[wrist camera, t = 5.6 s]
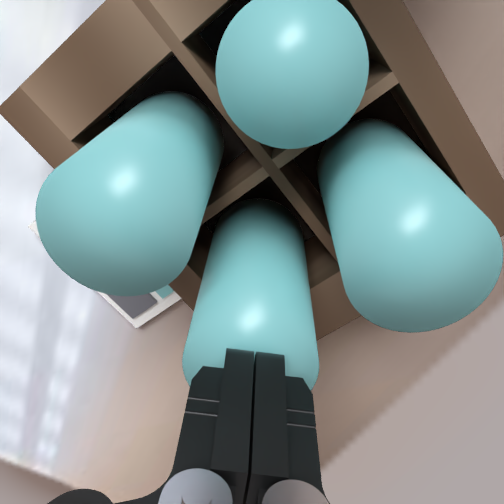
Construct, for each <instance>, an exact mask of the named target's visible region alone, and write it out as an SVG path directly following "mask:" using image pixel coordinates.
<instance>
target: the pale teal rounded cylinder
mask: <svg viewBox="0 0 504 504" xmlns="http://www.w3.org/2000/svg"><path fill="white" fill-rule="evenodd" d="M223 152H224V136H223V131H222V128H221V125H220V123H219V121H218V119H217V117H216V116H215V114H214V113H213V111H212V110H211V109H210V108H209V107H208V106H207V105H206V104H205V103H204V102H202V101H201V100H199V99H198V98H196V97H194V96H192V95H190V94H187V93H184V92H179V91H163V92H158V93H155V94H153V95H151V96H149V97H147V98H145V99H144V100H143V101H141V102H140V103H139V104H137V105H136V106H135V107H134V108H132V109H131V110H130V111H128V112H127V113H126V114H125V115H123V116H122V117H121V118H120V119H118V120H117V121H116V122H114V123H113V124H112V125H111V126H109V127H108V128H107V129H105V130H104V131H103V132H102V133H100V134H99V135H98V136H96V137H95V138H94V139H93V140H91V141H90V142H89V143H88V144H86V145H85V146H84V147H82V148H81V149H80V150H79V151H77V152H76V153H75V154H73V155H72V156H71V157H70V158H68V159H67V160H66V161H64V162H63V163H62V164H61V165H59V166H58V167H57V168H56V169H55V170H54V171H53V172H52V173H51V174H50V175H49V176H48V177H47V179H46V180H45V182H44V183H43V185H42V187H41V189H40V191H39V195H38V198H37V202H36V224H37V229H38V233H39V236H40V239H41V241H42V243H43V245H44V247H45V249H46V251H47V252H48V254H49V256H50V257H51V258H52V259H53V261H54V262H55V263H56V264H57V265H58V266H59V267H60V268H61V269H62V271H64V272H65V273H66V274H67V275H68V276H70V277H71V278H72V279H74V280H75V281H77V282H78V283H80V284H82V285H84V286H86V287H88V288H90V289H93V290H95V291H98V292H101V293H105V294H109V295H115V296H138V295H144V294H148V293H151V292H154V291H157V290H159V289H161V288H163V287H165V286H166V285H168V284H169V283H171V282H172V281H173V280H174V279H176V278H177V277H178V275H179V274H180V273H181V272H182V271H183V269H184V268H185V266H186V265H187V263H188V261H189V259H190V256H191V253H192V250H193V247H194V244H195V241H196V238H197V234H198V231H199V228H200V225H201V222H202V219H203V216H204V213H205V209H206V206H207V203H208V200H209V197H210V194H211V191H212V188H213V185H214V181H215V178H216V175H217V172H218V169H219V166H220V163H221V160H222V156H223Z"/></svg>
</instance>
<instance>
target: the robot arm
mask: <svg viewBox="0 0 504 504" xmlns="http://www.w3.org/2000/svg"><path fill="white" fill-rule="evenodd" d="M315 427H316V423H315V415H314V404H313V394H312V392H311V391H310V389H309V387H308V386H307V384H306V382H305V381H304V379H303V378H300V377H291V376H285V356H284V355H281V354H273V353H265V352H257V351H256V354H255V360H254V351H248V350H240V349H231V348H226V355H225V362H224V368H217V367H209V366H203V367H202V368H201V369H200V370H199V371H198V373H197V374H196V375H195V376H194V377H193V378H192V381H191V385H190V390H189V395H188V400H187V404H186V409H185V414H184V418H183V423H182V428H181V432H180V437H179V442H178V446H177V451H176V456H175V461H174V465H173V469H172V472H171V474H170V476H169V477H168V479H167V480H166V482H165V483H164V484H163V485H162V486H161V487H160V488H158V489H157V490H156V491H154V492H153V493H151V494H149V495H147V496H145V497H142V498H138V499H135V500H130V501H125V502H120V503H115V504H330V503H329V502H328V500H327V498H326V496H325V494H324V491H323V488H322V482H321V472H320V462H319V453H318V443H317V433H316V429H315ZM48 504H113V503H112V502H111V500H110V499H109V498H108V497H107V496H106V495H104V494H103V493H101V492H98V491H96V490H91V489H77V490H73V491H69V492H66V493H64V494H62V495H60V496H58V497H57V498H55V499H54V500H52V501H51V502H49V503H48Z"/></svg>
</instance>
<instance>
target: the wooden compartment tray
mask: <svg viewBox="0 0 504 504" xmlns="http://www.w3.org/2000/svg"><path fill="white" fill-rule="evenodd" d="M235 1H236V0H106V1H105V2H104V3H103V4H102V5H101V6H100V7H99V8H98V9H97V10H96V11H95V12H94V13H93V14H92V15H91V16H90V17H89V18H88V19H87V20H86V21H85V22H84V23H83V24H82V25H81V26H80V27H79V28H78V29H77V30H76V31H75V32H74V33H73V34H72V35H71V36H70V37H69V38H68V39H67V40H66V41H65V42H64V43H63V44H62V45H61V46H60V47H59V48H58V49H57V50H56V51H55V52H54V53H53V54H52V55H51V56H50V57H49V58H48V59H47V60H46V61H45V62H44V63H43V64H42V65H41V66H40V67H39V68H38V69H37V70H36V71H35V72H34V73H33V74H32V75H31V76H30V77H29V78H28V79H27V80H26V81H25V82H24V83H23V84H22V85H21V86H20V87H19V88H18V89H17V90H16V91H15V92H14V93H13V94H12V95H11V96H10V97H9V98H8V99H7V100H6V101H5V102H4V103H3V104H2V105H1V106H0V114H1V115H2V116H3V117H4V118H5V119H6V120H7V121H8V122H9V123H10V124H11V125H12V126H13V127H14V128H15V129H16V130H17V132H18V133H19V134H20V135H21V136H22V137H23V138H24V139H25V140H26V141H27V142H28V143H29V144H30V145H31V146H32V147H33V148H34V149H35V150H36V151H37V152H38V153H39V154H40V155H41V156H42V157H43V158H44V159H45V160H46V161H47V162H48V163H49V164H50V165H51V166H52V167H53V168H54V169H56V168H57V167H58V166H59V165H61V164H62V163H63V162H64V161H66V160H67V159H68V158H70V157H71V156H72V155H73V154H75V153H76V152H77V151H79V150H80V149H81V148H82V147H84V146H85V145H86V144H88V143H89V142H90V141H91V140H93V139H94V138H95V137H96V136H98V135H99V134H100V133H102V132H103V131H104V130H105V129H107V128H108V127H109V126H111V125H112V124H113V123H114V122H113V121H112V120H111V119H110V118H109V117H108V116H107V115H108V114H109V113H110V112H111V111H113V110H114V109H115V108H116V107H117V106H118V105H119V104H120V103H122V102H123V101H124V100H125V99H126V98H127V97H128V96H129V95H131V94H132V93H133V92H134V91H135V90H136V89H137V88H138V87H140V86H141V85H142V84H143V83H144V82H145V81H146V80H147V79H149V78H150V77H151V76H152V75H153V74H154V73H155V72H156V71H158V70H159V69H160V68H161V67H162V66H163V65H164V64H165V63H167V62H168V61H169V60H170V59H171V58H172V57H173V56H174V55H175V56H176V57H177V58H178V60H179V61H180V62H181V63H182V65H183V66H184V67H185V68H186V70H187V71H188V72H189V74H190V75H191V76H192V77H193V79H194V80H195V81H196V83H197V84H198V85H199V86H200V88H201V89H202V90H203V91H204V93H205V94H206V95H207V97H208V98H209V99H210V100H211V102H212V103H213V104H214V106H215V107H216V108H217V109H218V111H219V112H220V113H221V114H222V116H223V117H224V118H225V120H226V121H227V122H228V123H229V125H230V126H231V127H232V128H233V130H234V131H235V132H236V134H237V135H238V136H239V137H240V139H241V140H242V141H243V143H244V144H245V145H246V146H247V148H248V149H247V150H246V151H245V152H243V153H242V154H241V155H239V156H238V157H237V158H236V159H234V160H233V161H232V162H230V163H229V164H228V165H226V166H225V167H224V168H222V169H221V170H220V171H218V172H217V175H216V178H215V181H214V185H213V188H212V191H211V194H210V197H209V200H208V203H207V206H206V209H205V213H204V216H203V219H202V222H201V225H200V228H199V231H198V234H197V238H196V241H195V244H194V247H193V250H192V253H191V256H190V259H189V261H188V263H187V265H186V266H185V268H184V269H183V271H182V272H181V273H180V274H179V275H178V277H177V278H176V279H174V280H173V281H172V282H171V283H169V284H168V285H169V286H170V287H171V288H172V289H173V290H174V291H175V292H176V293H177V294H178V295H179V296H180V297H181V298H182V299H183V300H184V301H185V303H186V304H187V305H188V306H189V307H190V308H191V309H192V310H193V311H194V309H195V305H196V301H197V297H198V293H199V289H200V285H201V281H202V277H203V273H204V269H205V266H206V262H207V258H208V254H209V250H210V246H211V242H212V238H213V234H212V233H211V232H210V231H209V229H208V228H207V227H206V226H205V225H204V224H203V223H205V222H206V221H207V220H209V219H210V218H212V217H213V216H214V215H216V214H217V213H219V212H220V211H221V210H223V209H224V208H225V207H227V206H228V205H230V204H231V203H232V202H234V201H235V200H237V199H238V198H239V197H241V196H242V195H244V194H245V193H246V192H248V191H249V190H250V189H252V188H253V187H255V186H256V185H257V184H259V183H260V182H262V181H263V180H264V179H266V178H267V177H269V176H270V177H271V178H272V180H273V181H274V182H275V183H276V185H277V186H278V187H279V188H280V190H281V191H282V192H283V194H284V195H285V196H286V197H287V199H288V200H289V201H290V202H291V204H292V205H293V206H294V208H295V209H296V210H297V211H298V213H299V214H300V215H301V217H302V218H303V219H304V220H305V222H306V223H307V224H308V225H309V227H310V228H311V229H312V231H313V232H314V233H315V234H316V235H315V236H314V237H312V238H310V239H309V240H307V241H306V242H304V247H305V255H306V263H307V271H308V279H309V287H310V295H311V303H312V311H313V319H314V326H315V334H316V341H317V340H319V339H320V338H322V337H324V336H326V335H327V334H329V333H331V332H333V331H334V330H336V329H338V328H340V327H342V326H343V325H345V324H347V323H349V322H350V321H352V320H354V319H356V318H358V317H359V316H361V314H360V313H359V312H358V311H357V310H356V309H355V308H354V306H353V305H352V304H351V302H350V300H349V298H348V296H347V294H346V291H345V288H344V284H343V280H342V276H341V272H340V268H339V264H338V260H337V256H336V252H335V248H334V244H333V240H332V236H331V231H330V227H329V223H328V219H327V215H326V211H325V207H324V203H323V199H322V197H321V195H320V194H319V193H318V191H317V190H316V189H315V187H314V186H313V185H312V183H311V182H310V181H309V179H308V178H307V177H306V175H305V174H304V173H303V171H302V170H301V169H300V167H299V166H298V165H297V163H296V162H295V161H294V158H295V157H296V156H298V155H299V154H300V153H302V152H303V151H305V150H306V149H307V148H309V147H310V146H308V147H304V148H298V149H282V148H276V147H271V146H268V145H265V144H262V143H260V142H258V141H256V140H254V139H252V138H251V137H249V136H248V135H246V134H245V133H244V132H243V131H242V130H241V129H239V128H238V127H237V125H236V124H235V123H234V122H233V121H232V119H231V118H230V117H229V115H228V114H227V112H226V110H225V108H224V106H223V104H222V102H221V99H220V96H219V93H218V88H217V83H216V59H217V56H216V55H215V54H214V52H213V51H212V50H211V48H210V47H209V46H208V44H207V43H206V42H205V40H204V39H203V38H202V36H201V35H200V34H199V33H200V32H201V31H203V30H204V29H205V28H206V27H207V26H208V25H209V24H210V23H212V22H213V21H214V20H215V19H216V18H217V17H218V16H219V15H221V14H222V13H223V12H224V11H225V10H226V9H227V8H228V7H230V6H231V5H232V4H233V3H234V2H235ZM337 1H338V2H339V3H341V4H342V5H343V6H344V7H345V8H346V9H347V10H348V11H349V12H350V13H351V14H352V16H353V17H354V19H355V20H356V21H357V23H358V25H359V27H360V29H361V31H362V33H363V36H364V39H365V42H366V46H367V50H368V56H369V58H368V59H369V72H368V80H367V85H366V88H365V92H364V95H363V97H362V100H361V102H360V104H359V106H358V108H357V109H356V111H355V113H354V114H353V115H355V114H356V113H357V112H359V111H360V110H362V109H363V108H364V107H366V106H367V105H368V104H370V103H371V102H373V101H374V100H375V99H377V98H378V97H380V96H381V95H382V94H384V93H385V92H387V91H388V90H390V92H391V93H392V95H393V97H394V98H395V100H396V101H397V103H398V105H399V106H400V108H401V110H402V111H403V113H404V114H405V116H406V118H407V119H408V121H409V122H410V124H411V126H412V127H413V129H414V131H415V132H416V134H417V135H418V137H419V139H420V140H421V142H422V143H423V145H424V147H425V148H426V150H427V152H428V153H429V155H430V156H431V158H432V161H433V162H434V163H435V164H436V165H437V166H438V167H439V168H440V169H441V170H442V171H443V172H444V173H445V174H446V175H447V176H448V177H449V178H450V179H451V180H452V181H453V182H454V183H455V184H456V185H457V186H458V187H459V188H460V190H461V191H462V192H463V193H464V194H465V195H466V196H467V197H468V198H469V199H470V200H471V201H472V202H473V203H474V204H475V205H476V206H477V207H478V208H479V209H480V210H481V211H482V212H483V213H484V214H485V215H486V216H487V217H488V218H489V219H490V220H491V222H492V223H493V224H494V226H495V227H496V229H497V231H498V233H499V235H500V237H501V236H503V235H504V180H503V178H502V177H501V175H500V173H499V171H498V169H497V168H496V166H495V164H494V162H493V161H492V159H491V157H490V155H489V153H488V152H487V150H486V148H485V146H484V145H483V143H482V141H481V139H480V137H479V136H478V134H477V132H476V130H475V129H474V127H473V125H472V123H471V122H470V120H469V118H468V116H467V114H466V113H465V111H464V109H463V107H462V106H461V104H460V102H459V100H458V98H457V97H456V95H455V93H454V91H453V90H452V88H451V86H450V84H449V82H448V81H447V79H446V77H445V75H444V74H443V72H442V70H441V68H440V66H439V65H438V63H437V61H436V59H435V58H434V56H433V54H432V52H431V50H430V49H429V47H428V45H427V43H426V42H425V40H424V38H423V36H422V34H421V33H420V31H419V29H418V27H417V26H416V24H415V22H414V20H413V18H412V17H411V15H410V13H409V11H408V10H407V8H406V6H405V4H404V2H403V1H402V0H337ZM311 146H312V145H311Z"/></svg>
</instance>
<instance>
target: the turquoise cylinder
mask: <svg viewBox="0 0 504 504" xmlns="http://www.w3.org/2000/svg"><path fill="white" fill-rule="evenodd" d="M317 178H318V183H319V187H320V191H321V195H322V199H323V203H324V207H325V211H326V215H327V219H328V223H329V227H330V231H331V236H332V240H333V244H334V248H335V252H336V256H337V260H338V264H339V268H340V272H341V276H342V280H343V284H344V288H345V291H346V294H347V296H348V298H349V300H350V302H351V304H352V305H353V306H354V308H355V309H356V310H357V311H358V312H359V313H360V314H361V315H362V316H363V317H365V318H366V319H367V320H369V321H370V322H372V323H374V324H376V325H378V326H380V327H383V328H386V329H389V330H393V331H399V332H424V331H431V330H435V329H439V328H442V327H445V326H448V325H450V324H452V323H454V322H457V321H459V320H460V319H462V318H464V317H465V316H467V315H468V314H470V313H471V312H472V311H474V310H475V309H476V308H477V307H478V306H479V305H480V304H481V303H482V302H483V301H484V300H485V299H486V298H487V297H488V295H489V294H490V292H491V291H492V289H493V288H494V286H495V284H496V282H497V280H498V278H499V275H500V272H501V268H502V263H503V248H502V242H501V239H500V235H499V233H498V231H497V229H496V227H495V226H494V224H493V223H492V222H491V220H490V219H489V218H488V217H487V216H486V215H485V214H484V213H483V212H482V211H481V210H480V209H479V208H478V207H477V206H476V205H475V204H474V203H473V202H472V201H471V200H470V199H469V198H468V197H467V196H466V195H465V194H464V193H463V192H462V191H461V190H460V188H459V187H458V186H457V185H456V184H455V183H454V182H453V181H452V180H451V179H450V178H449V177H448V176H447V175H446V174H445V173H444V172H443V171H442V170H441V169H440V168H439V167H438V166H437V165H436V164H435V163H434V162H433V161H432V160H431V159H430V158H429V157H428V156H427V155H426V154H425V153H424V152H423V151H422V150H421V149H420V148H419V147H418V146H417V145H416V144H415V143H414V142H413V141H412V140H411V139H410V137H409V136H408V135H407V134H406V133H405V132H404V131H403V130H402V129H400V128H399V127H398V126H396V125H394V124H392V123H391V122H388V121H385V120H381V119H372V118H370V119H361V120H357V121H354V122H351V123H349V124H346V125H344V126H343V127H342V128H341V129H340V130H339V131H337V132H336V133H335V134H334V135H332V136H331V137H330V138H329V139H328V140H327V142H326V143H325V144H324V146H323V148H322V150H321V152H320V155H319V158H318V162H317Z"/></svg>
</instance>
